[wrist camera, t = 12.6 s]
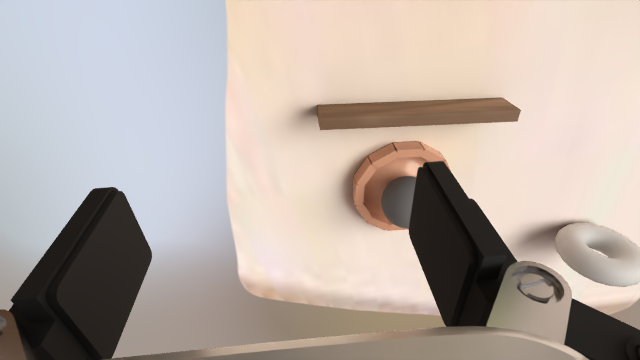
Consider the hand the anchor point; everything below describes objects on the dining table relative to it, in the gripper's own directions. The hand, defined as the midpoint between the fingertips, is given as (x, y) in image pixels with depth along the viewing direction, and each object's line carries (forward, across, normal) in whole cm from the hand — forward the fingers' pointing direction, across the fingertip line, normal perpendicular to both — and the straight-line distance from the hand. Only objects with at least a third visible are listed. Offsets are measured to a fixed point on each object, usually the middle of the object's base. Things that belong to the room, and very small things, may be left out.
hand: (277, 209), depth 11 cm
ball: (+21, -12, +18) cm, 31 cm away
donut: (+25, -38, +28) cm, 54 cm away
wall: (+25, -13, +9) cm, 30 cm away
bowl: (+25, -12, +19) cm, 33 cm away
